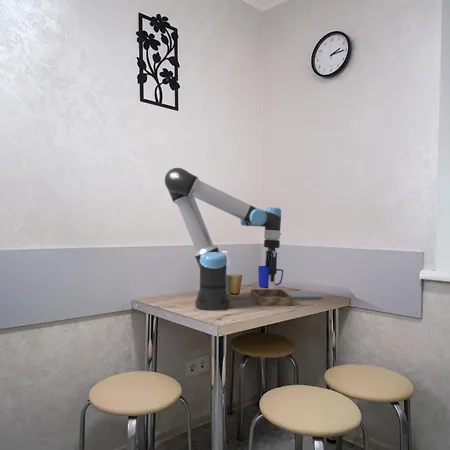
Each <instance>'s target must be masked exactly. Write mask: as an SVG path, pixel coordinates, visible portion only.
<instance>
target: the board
mask: <svg viewBox="0 0 450 450" xmlns="http://www.w3.org/2000/svg"><path fill="white" fill-rule="evenodd" d="M285 292H286V293H287V294H289V295H290V296H292V297H293V298H294V300H323V296H322V295H320V294H318V293H316V292H315V291H285Z"/></svg>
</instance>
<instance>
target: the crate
mask: <svg viewBox="0 0 450 450" xmlns="http://www.w3.org/2000/svg"><path fill="white" fill-rule="evenodd" d="M286 292H287V291H285V290H283V289H279V288H276V289H275V288H274V289H271V288H260V289H259V288H258V289H257V288H254V289H253V288H252V289H250V297H251V298H252V300H253V301H254V302H255V303H256V304H257V305H258V306H259V307H260V306H261V307H263V306H264V307H265V306H266V307H269V306H270V307H272V306H274V307H279V306H281V307H283V306H284V307H285V306H286V307H289V306H291V307H294V306H295V299H294V298H293V297H292V296H290V295H289V294H287V293H286Z"/></svg>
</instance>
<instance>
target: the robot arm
mask: <svg viewBox="0 0 450 450" xmlns="http://www.w3.org/2000/svg"><path fill="white" fill-rule="evenodd" d="M164 184H165V187H166V189H167V190H168V194H169V195H170V198H171V200H172V203H173V204H176V205H177V206H178V209H179V212H180V214H181V217H182V219H183V221H184V224H185V227H186V229H187V231H188V233H189V234H188V235H189V237H190V239H191V242H192V244H193V246H194V249H195V254H194V257H195V259H196V263H197V264H198V268H199V290H198V292H197V295H196V298H195V303H194V306H195V308H196V309H199V310H205V311H219V310H226V309H229V308H230V307H231V304H230V303H231V302H230V299H229V294H228V292H227V263H228V259H227V255H226V254H225V253H222V252H220V250H219V248H218V246H217V245H215V244H213V241H212V239H211V236H210V234H209V230H208V229H207V226H206V223H205V221H204V219H203V216H202V213H201V211H200V209H199V206H198V203H197V201H196V199H197V200H200V201H201V202H204V203H206V204H208V205H209V206H212V207H214V208H216V209H218V210H221V211H223V212H224V213H227V214H229V215H232V216H233V217H235V218H238V219H240V225H241V226H244V227H262V228H263V227H264V241H263V247H264V248H267V250H266V251H265V265H264V266H267V267H269V266H270V273H268V275H269V286H268V288H267V289H275V287H276V285H275V284H276V283H275V280H276V275H277V272H278V271H276V269H278V268H277V266H278V265H277V263H278V262H277V261H278V252H277V251H276V249H279V248H280V246H281V244H280V243H281V242H280V239H281V236H282V233H281V224H282V223H281V221H282V210H281V208H279V207H274V206H273V207H266V208H265V209H262V208H257V207H255V206H254V205H251V204H249V203H247V202H245V201H243V200H241V199H240V198H236V197H235V196H232V195H231V194H229V193H226V192H224V191H222V190H221V189H217V188H215V186H214V187H213V186H212V185H210V184H208V183H206V182H203V181H201V180H200V178H199V177H198V176H196V175H194V174H192V173H191V172H190V171H187V170H186V169H184V168H181V167H174V168H171V169H170V170H168V171H167V172H166V173H165V177H164Z"/></svg>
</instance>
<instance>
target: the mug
mask: <svg viewBox="0 0 450 450" xmlns="http://www.w3.org/2000/svg"><path fill="white" fill-rule="evenodd" d="M257 269H258V273H257V274H258V287H259V288H260V289H269V288H268V286H269V275H268V273H270V266H269V267H267V266H265V265H258V267H257ZM278 271H281V277H280V280H279V282H278V283H275V286H279V285H281V284H282V281H283V277H284V269H280V268H276V272H278Z"/></svg>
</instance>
